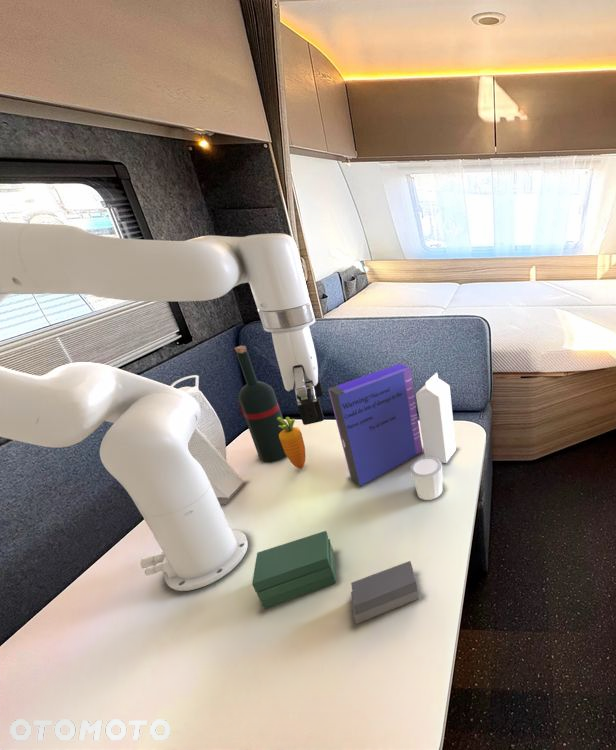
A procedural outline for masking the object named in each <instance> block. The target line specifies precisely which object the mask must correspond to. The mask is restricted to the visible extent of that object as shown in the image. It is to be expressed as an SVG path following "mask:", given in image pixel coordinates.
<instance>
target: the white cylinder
mask: <svg viewBox="0 0 616 750" xmlns="http://www.w3.org/2000/svg"><path fill="white" fill-rule="evenodd" d="M409 470H410V473H411V477H412V481H413V483H414V487H415V490H416V494H417V496H418V498H420V499H421V500H424V501H430V500H431V501H432V500H435V499H436V498H438V497H440V496H441V494H442V493H443V463H442V462H441V461H440V460H439V459H437V458H434V457H425V456H424V457H421V458H419V459H416V460H415V461H414V462H413V463H412V464H411V466H410V468H409Z"/></svg>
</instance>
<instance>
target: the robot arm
mask: <svg viewBox="0 0 616 750" xmlns="http://www.w3.org/2000/svg"><path fill="white" fill-rule="evenodd" d="M247 283H248V284H249V285H250V286H249V287H250V289H251V293H252V296H253V300H254V302H255V305H256V308H257V309H256V310H257V312H258V315H259V318H260V320H261V324H262V325H261V326H262V328H263V330H264V332H267V333H271V338H272V343H273V348H274V352H275V356H276V361H277V364H278V367H279V371H280V376H281V378H282V383H283V386H284V387H283V388H284V389H285V391H287V392H291V391H292V390H294V393H295V398H296V405H297V408H298V412H299V415H300V419H301V421H302V424H303V425H304V426H308V425H310V424H311V425H312V424H317V423H321V422H323V421H325V420H324V419H325V418H324V414H323V410H322V406H321V403H320V399H319V398H321V397H322V398H323V397H324V391H323V387H322V383H321V379H320V376H319V365H318V359H317V353H316V349H315V344H314V341H313V337H312V333H311V332H312V331H311V329H310V326H313V325H314V324H315V323H316V317H315V313H314V309H313V307H312V306H313V305H312V302H311V298H310V294H309V291H308V287H307V283H306V278H305V274H304V270H303V266H302V263H301V258H300V254H299V251H298V248H297V243H296V242H295V240H294V238H293V237H292V236H291V235H289V234H287V233H276V232H275V233H273V232H272V233H259V234H250V235H245V236H225V235H203V236H199V237H194V238H191V239H186V240H161V239H159V240H158V239H139V238H138V239H137V238H124V237H114V236H113V237H112V236H106V235H105V236H104V235H99V234H94V233H91V232H88V231H87V230H85V229H83V228H82V227H79V226H74V225H68V224H54V223H53V224H50V223H25V222H9V221H8V222H6V221H2V220H0V304H1V303H3V302H4V301H5V300H7V298H8V297H10V296H11V295H85V296H86V295H87V296H91V297H96V298H104V299H111V300H112V299H113V300H119V301H130V302H131V301H132V302H159V303H161V302H205V301H211V300H212V301H213V300H214V299H219V298H221V297H224V296H225V295H227V294H228V293H229V292H230V291H231V290H232V289H233V288H235V287H237V286H240V285H241V284H247ZM200 416H201V411H200V407H199V405H198V403H197V402H196V400H195V399H194V398H193V397H191V396H190V395H189V394H187V393H185V392H183V391H181V390H179V388H176V387H174V386H173V387H171V385H168V384H165V383H163V382H159V381H157V380H154V379H150V378H148V377H145V376H142V375H138V374H135V373H133V372H130V371H127V370H124V369H121V368H118V367H114V366H111V365H108V364H103V363H98V362H86V361H85V362H83V361H82V362H81V361H80V362H71V363H67V364H63V365H60V366H58V367H55V368H54V369H51V370H50V371H48V372H46V373H45V374H43V375H34V374H29V373H25V372H21V371H17V370H14V369H10V368H7V367H3V366H1V365H0V438H4V439H8V440H12V441H16V442H21V443H26V444H29V445H34V446H39V447H45V448H54V449H59V448H67V447H72V446H74V445H77V444H78V443H80V442H83V441H84V440H85V439H86V438H88V437H89V436H90V435H92V434H93V433H94V432H95V431H96V430H97V429H99V427H100V426H102V424H103V423H104V422H106V423H107V422H108V423H112V425H111V426H110V427H109V428H108V429H107V431H106V433H105V435H104V436H103V438H102V440H101V443H100V447H99V458H100V461H101V463H102V465H103V467H104V468H105V470H106V471H107V473H109V474H110V475H111V476H112V477H113V478H114V479H116V481H117V482H118V483H119V484H120V485H121V486H122V487H123V489H125V491H126V492H127V494H128V495H129V497H130V498H131V499H132V502H133V503H134V505H135V507H136V508H137V510H138V511H139V513H140V514H141V516H142V517H143V519H144V521H145V523H146V524H147V526H148V529H149V530H150V532H151V534H152V535H153V537H154V539H155V540H156V542H157V544H158V546H159V547H160V549H161V550H162V552H158V553H153V554H150V555H146V556H143V557H142V558H141V559H140V566H141V568H142V569H144V574H145V576H146V577H147V576H151V575H154V574H157V573H160V572H163V573H164V575H163V576H164V581H165V583H166V585H167V586H168V587H169V588H170V589H172V590H174V591H179V592H187V591H194V590H199V589H201V588H204V587H206V586H209V585H211V584H213V583H215V582H217V581H218V580H220V579H222V578H223V577H224V576H226V575H228V574H229V573H230V572H231V571H232V570H234V569H235V568H236V567H237V566H238V565H239V563H240V562H241V561H242V559H243V558H244V557H245V555H246V553H247V551H248V548H249V541H248V539H247V536H246V535H245V534H244V533H243V532H242V531H240V530H238V529H232V528H231V526H230V524H229V521H228V520H227V517H226V515H225V513H224V510H223V508H222V505H220V504H219V502H218V499H217V497H216V495H215V493H214V491H213V488H212V486H211V484H210V482H209V480H208V478H207V475H206V473H205V471H204V470H203V468H202V467H201V465H200V464H199V463H198V462H197V461H196V460H195V459H194V458H193V457H192V455H191V454H190V452H189V450H188V442H189V440H190V438H191V436H192V434H193V432H194V430H195V429H196V427H197V425H198V423H199V420H200Z"/></svg>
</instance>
